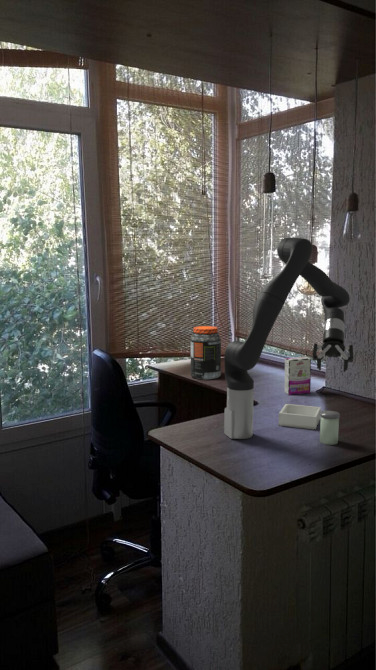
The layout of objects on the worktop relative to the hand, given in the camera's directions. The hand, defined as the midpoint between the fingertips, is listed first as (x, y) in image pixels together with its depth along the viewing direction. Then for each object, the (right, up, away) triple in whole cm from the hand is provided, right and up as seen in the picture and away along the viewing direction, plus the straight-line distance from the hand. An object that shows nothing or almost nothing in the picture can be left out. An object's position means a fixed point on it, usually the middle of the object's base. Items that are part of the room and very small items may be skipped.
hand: (332, 369), depth 195 cm
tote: (-9, -21, +13) cm, 26 cm away
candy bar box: (-1, -15, +57) cm, 59 cm away
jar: (-3, -24, -8) cm, 25 cm away
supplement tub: (-42, -9, +90) cm, 100 cm away
